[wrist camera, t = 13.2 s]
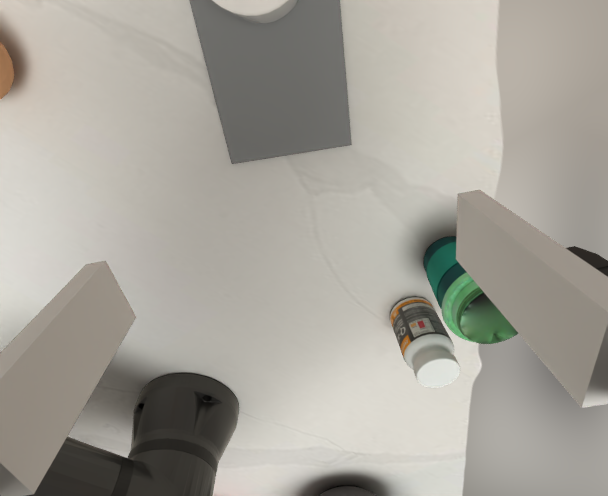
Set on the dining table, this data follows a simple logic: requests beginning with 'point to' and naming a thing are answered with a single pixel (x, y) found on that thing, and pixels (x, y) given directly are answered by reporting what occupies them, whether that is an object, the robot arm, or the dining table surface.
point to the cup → (463, 297)
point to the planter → (347, 491)
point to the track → (277, 79)
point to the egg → (5, 71)
